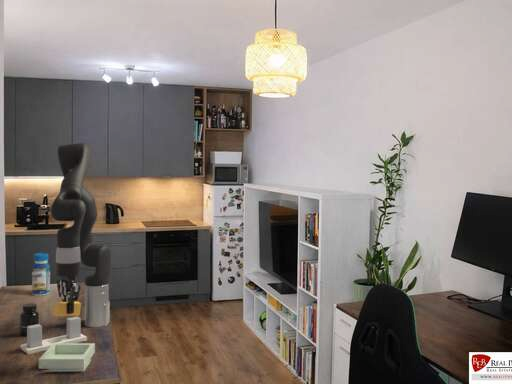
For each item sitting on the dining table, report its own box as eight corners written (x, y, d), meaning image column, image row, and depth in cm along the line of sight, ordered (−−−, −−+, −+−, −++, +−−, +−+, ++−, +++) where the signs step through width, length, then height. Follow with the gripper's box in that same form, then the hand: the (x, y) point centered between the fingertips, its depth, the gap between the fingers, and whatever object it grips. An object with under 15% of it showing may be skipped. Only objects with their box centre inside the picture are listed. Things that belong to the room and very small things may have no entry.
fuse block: (78, 337, 190) (78, 332, 190) (86, 342, 185) (87, 336, 185) (20, 351, 175) (20, 344, 175) (27, 357, 170) (27, 350, 170)
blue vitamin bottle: (53, 293, 252) (53, 253, 251) (38, 297, 245) (38, 256, 243) (43, 290, 256) (43, 252, 255) (28, 294, 249) (28, 254, 248)
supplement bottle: (17, 339, 186) (17, 307, 186) (21, 333, 193) (21, 302, 192) (37, 338, 188) (37, 306, 188) (40, 332, 195) (40, 302, 194)
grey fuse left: (38, 346, 178) (38, 324, 177) (42, 348, 176) (42, 326, 175) (27, 348, 175) (27, 326, 175) (30, 351, 173) (30, 328, 172)
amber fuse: (52, 314, 163) (75, 313, 169) (55, 316, 161) (79, 315, 167) (53, 302, 164) (77, 301, 169) (57, 304, 161) (81, 303, 167)
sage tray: (94, 354, 174) (94, 343, 174) (83, 371, 160) (83, 359, 160) (53, 354, 173) (53, 343, 173) (38, 371, 159) (38, 359, 159)
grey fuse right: (77, 337, 188) (77, 316, 187) (80, 339, 185) (80, 318, 185) (66, 339, 185) (66, 318, 184) (70, 342, 183) (70, 320, 182)
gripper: (88, 262, 162) (88, 315, 163) (70, 255, 172) (70, 305, 173) (66, 265, 157) (65, 319, 158) (48, 258, 167) (48, 309, 168)
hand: (67, 312), depth 165 cm, fingers closed on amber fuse, 2 cm apart
